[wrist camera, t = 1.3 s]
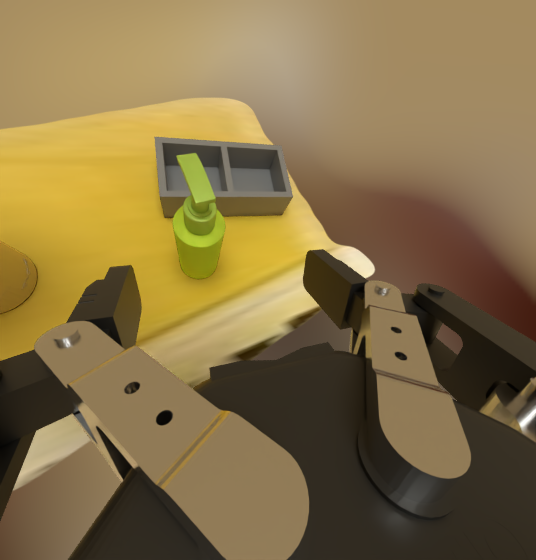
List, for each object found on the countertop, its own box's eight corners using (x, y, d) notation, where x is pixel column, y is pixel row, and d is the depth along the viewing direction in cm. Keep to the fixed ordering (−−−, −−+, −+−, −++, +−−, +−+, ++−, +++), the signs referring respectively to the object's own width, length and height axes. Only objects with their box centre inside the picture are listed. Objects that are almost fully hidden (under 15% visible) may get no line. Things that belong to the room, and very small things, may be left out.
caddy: (164, 217, 41) (159, 196, 35) (159, 164, 43) (154, 136, 38) (281, 215, 47) (292, 196, 42) (271, 168, 50) (281, 145, 44)
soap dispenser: (207, 236, 42) (216, 146, 24) (222, 272, 41) (242, 208, 23) (172, 245, 40) (152, 154, 22) (187, 283, 39) (178, 222, 21)
